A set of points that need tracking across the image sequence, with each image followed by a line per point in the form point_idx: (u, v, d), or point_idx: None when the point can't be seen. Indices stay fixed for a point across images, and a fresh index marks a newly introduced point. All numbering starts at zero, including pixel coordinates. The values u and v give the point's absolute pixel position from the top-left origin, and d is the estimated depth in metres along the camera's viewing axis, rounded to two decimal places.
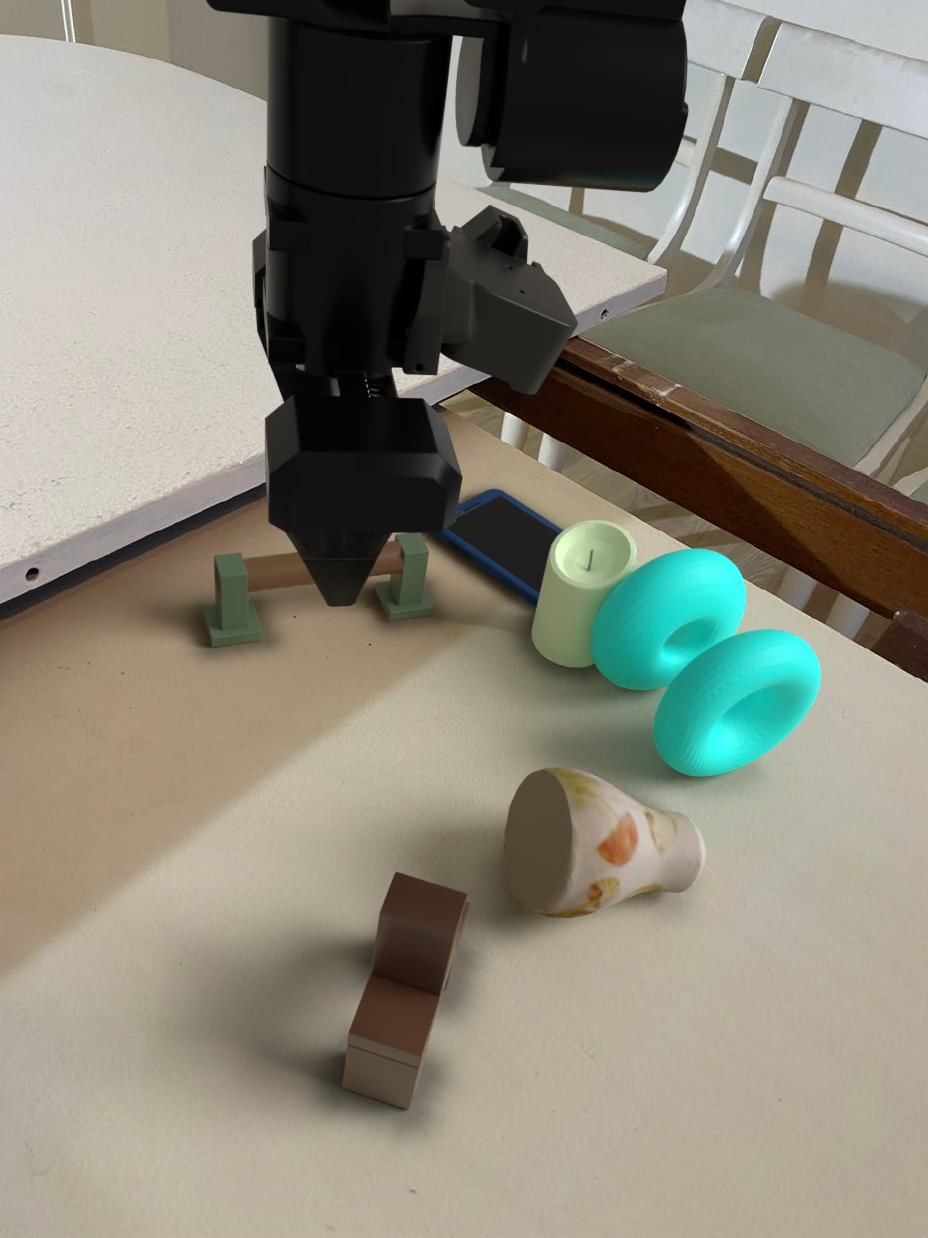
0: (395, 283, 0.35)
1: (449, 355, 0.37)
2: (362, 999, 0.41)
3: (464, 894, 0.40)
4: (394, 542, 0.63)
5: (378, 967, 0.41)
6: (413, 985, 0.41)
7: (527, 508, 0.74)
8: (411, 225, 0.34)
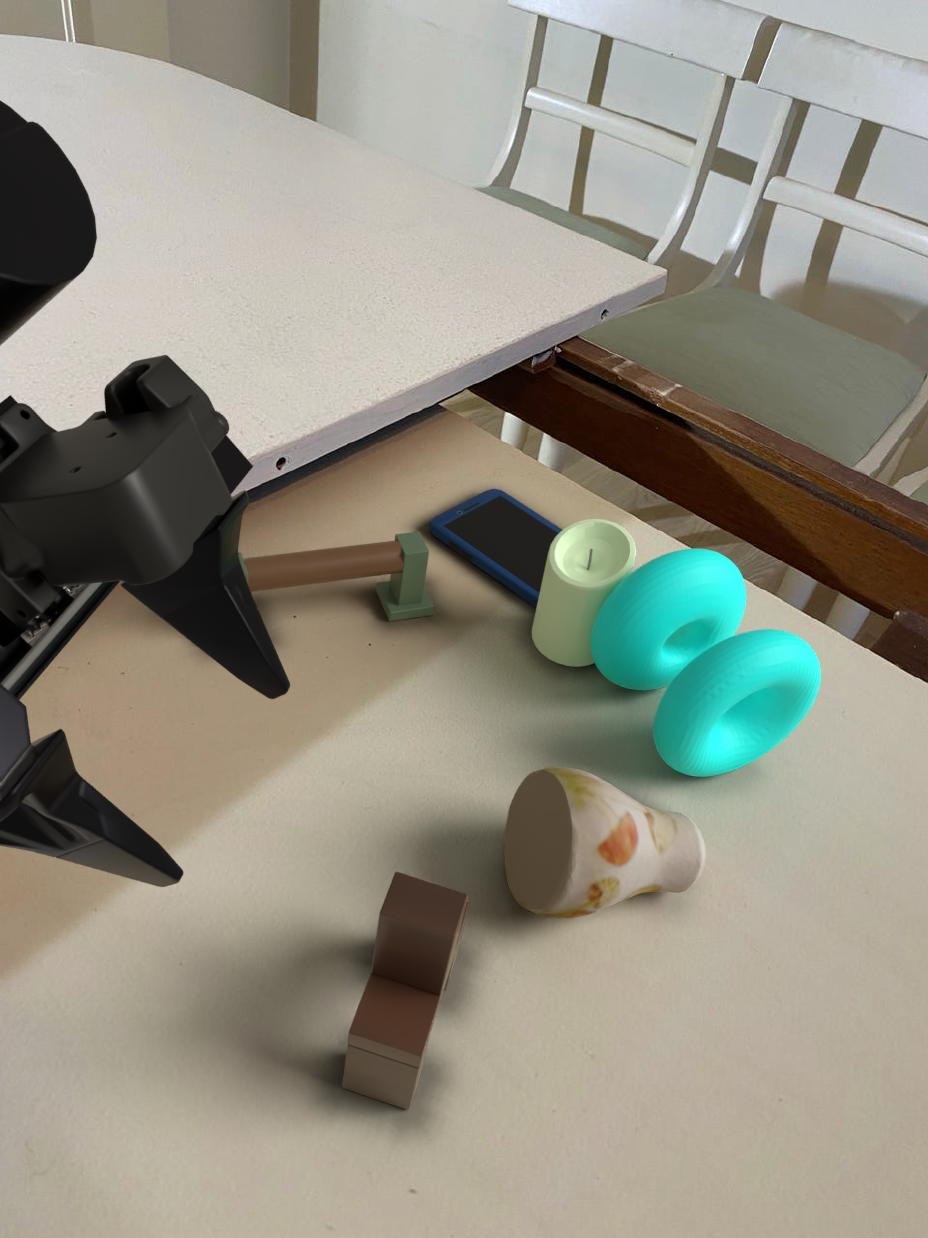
0: None
1: (49, 582, 0.30)
2: (362, 999, 0.41)
3: (464, 894, 0.40)
4: (394, 542, 0.63)
5: (378, 967, 0.41)
6: (413, 985, 0.41)
7: (527, 508, 0.74)
8: None
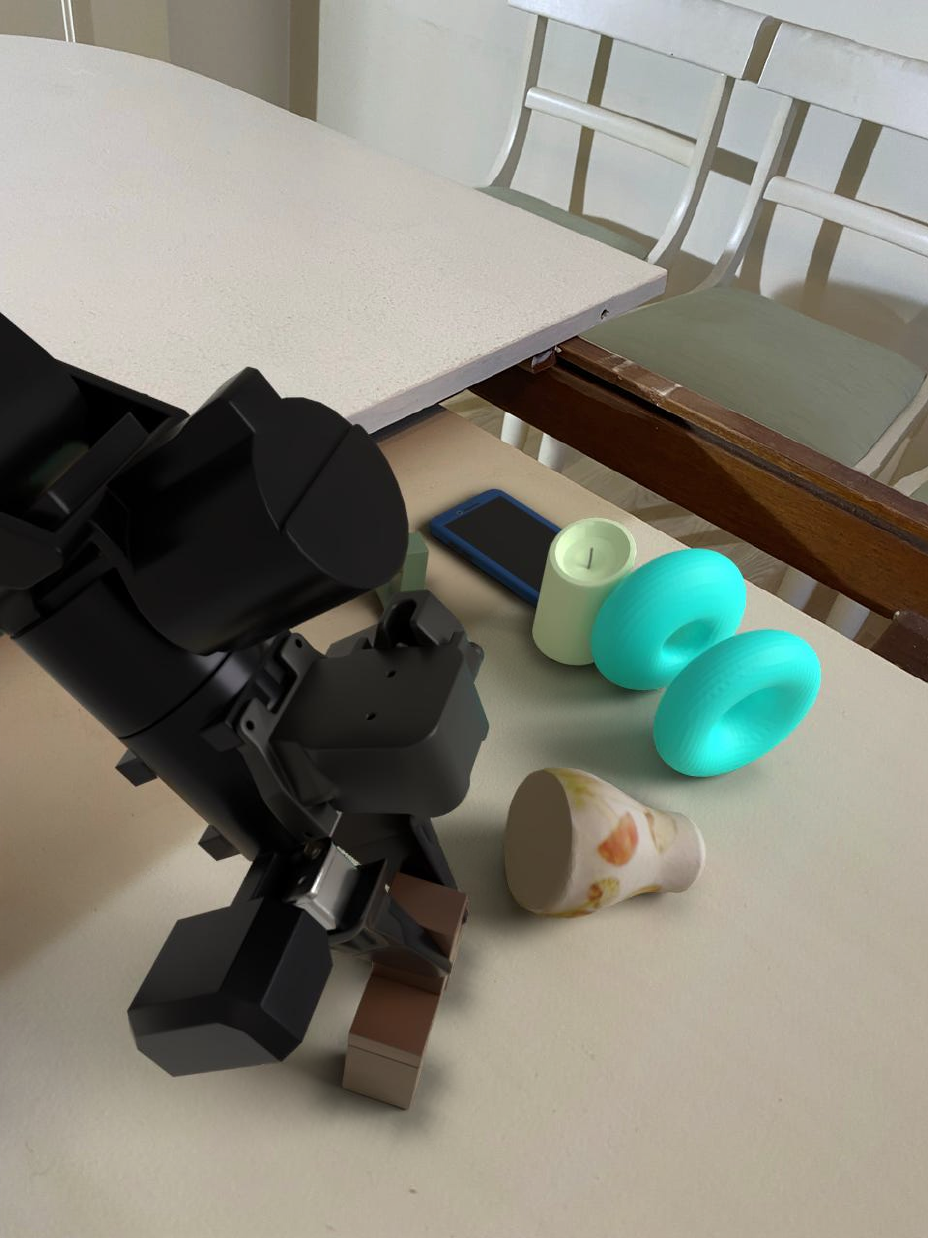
0: (231, 775, 0.33)
1: (336, 808, 0.33)
2: (362, 999, 0.41)
3: (464, 894, 0.40)
4: None
5: (378, 967, 0.41)
6: (413, 985, 0.41)
7: (527, 508, 0.74)
8: (202, 726, 0.32)
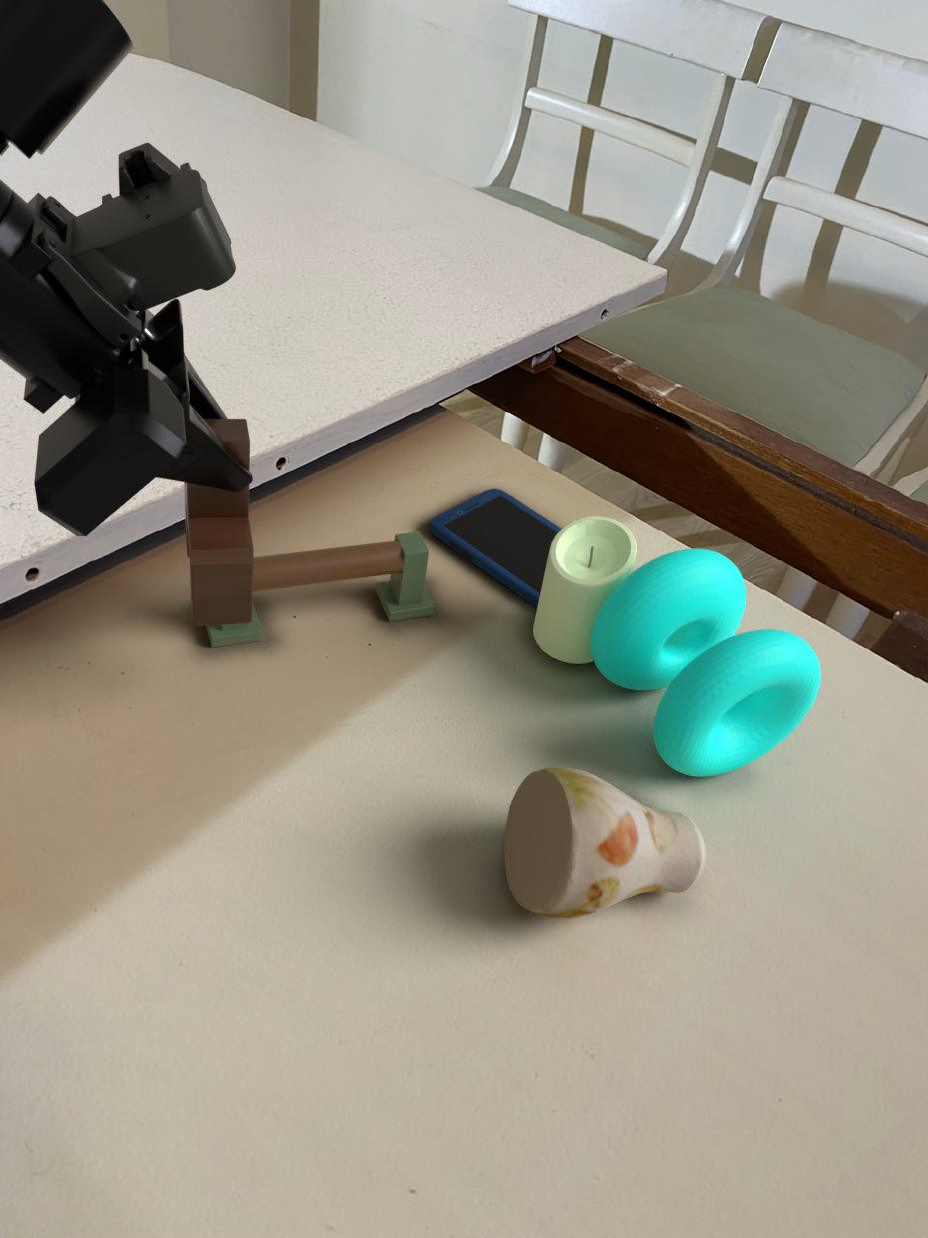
0: (46, 299, 0.41)
1: (139, 308, 0.42)
2: (190, 531, 0.51)
3: (243, 419, 0.50)
4: (394, 542, 0.63)
5: (193, 507, 0.51)
6: (225, 513, 0.52)
7: (527, 508, 0.74)
8: (12, 255, 0.40)
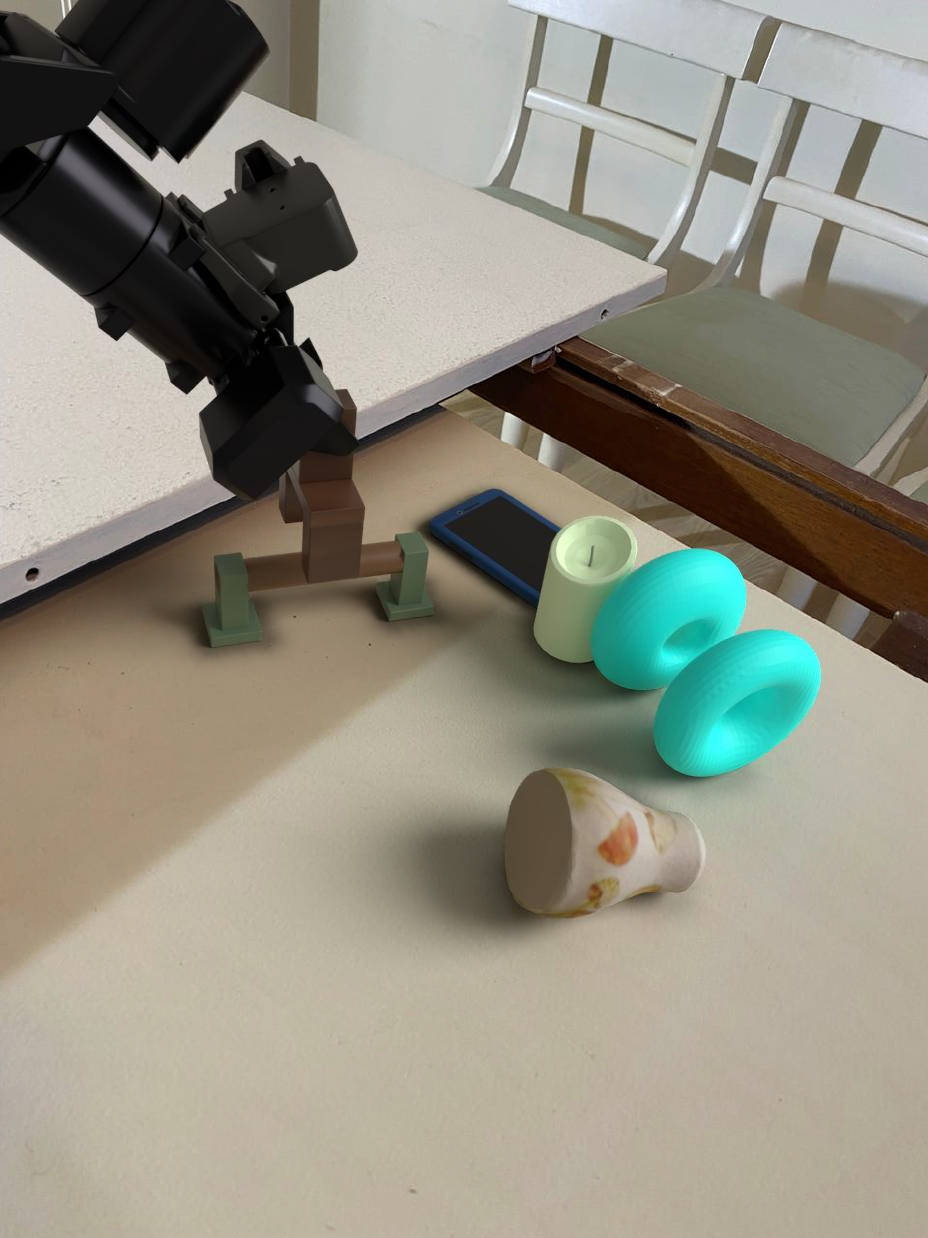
0: (198, 288, 0.45)
1: (277, 291, 0.47)
2: (305, 496, 0.55)
3: (345, 389, 0.55)
4: (394, 542, 0.63)
5: (304, 473, 0.55)
6: (331, 477, 0.56)
7: (527, 508, 0.74)
8: (170, 250, 0.44)
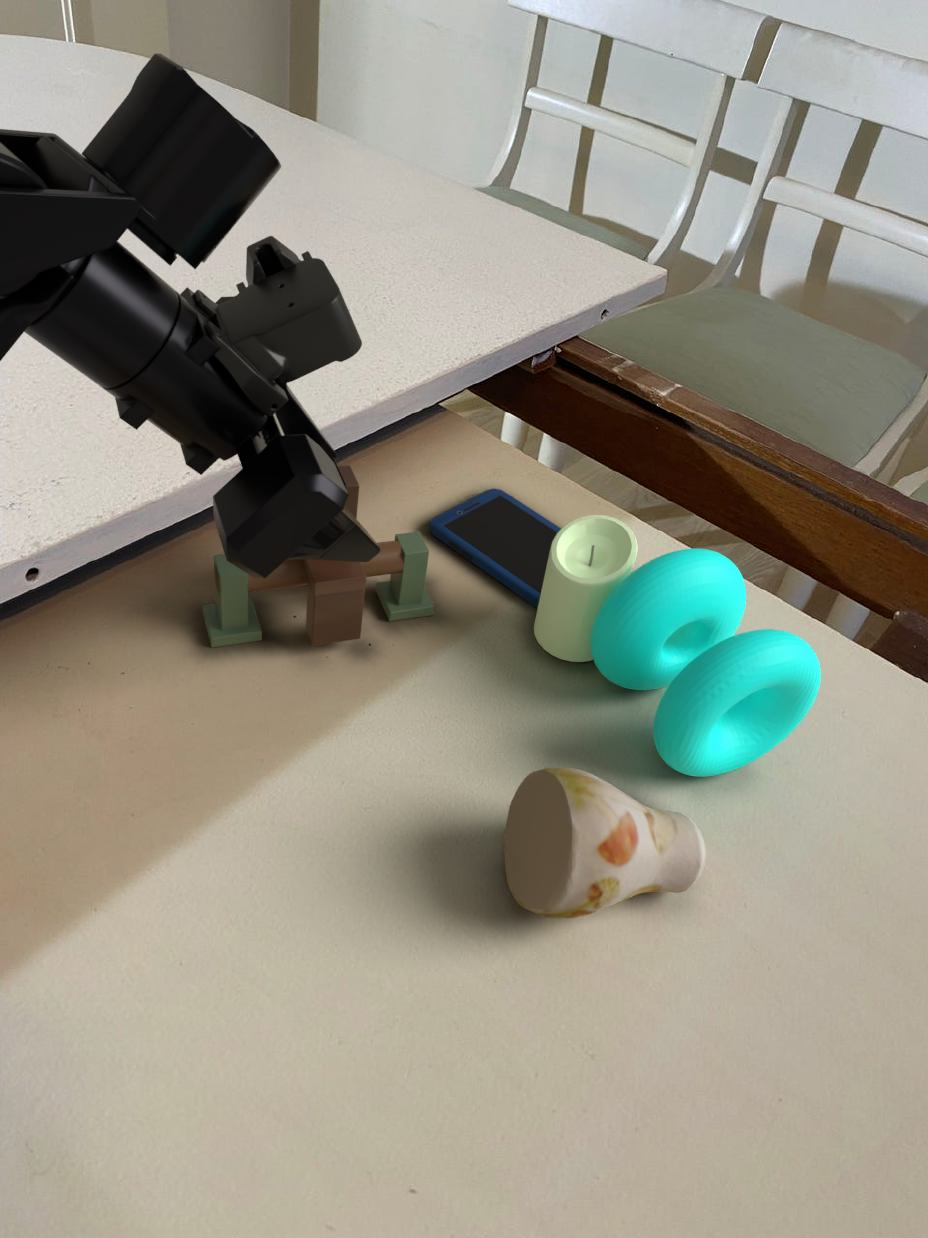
0: (212, 381, 0.48)
1: (286, 380, 0.50)
2: (310, 566, 0.58)
3: (347, 465, 0.58)
4: (394, 542, 0.63)
5: None
6: None
7: (527, 508, 0.74)
8: (186, 348, 0.47)
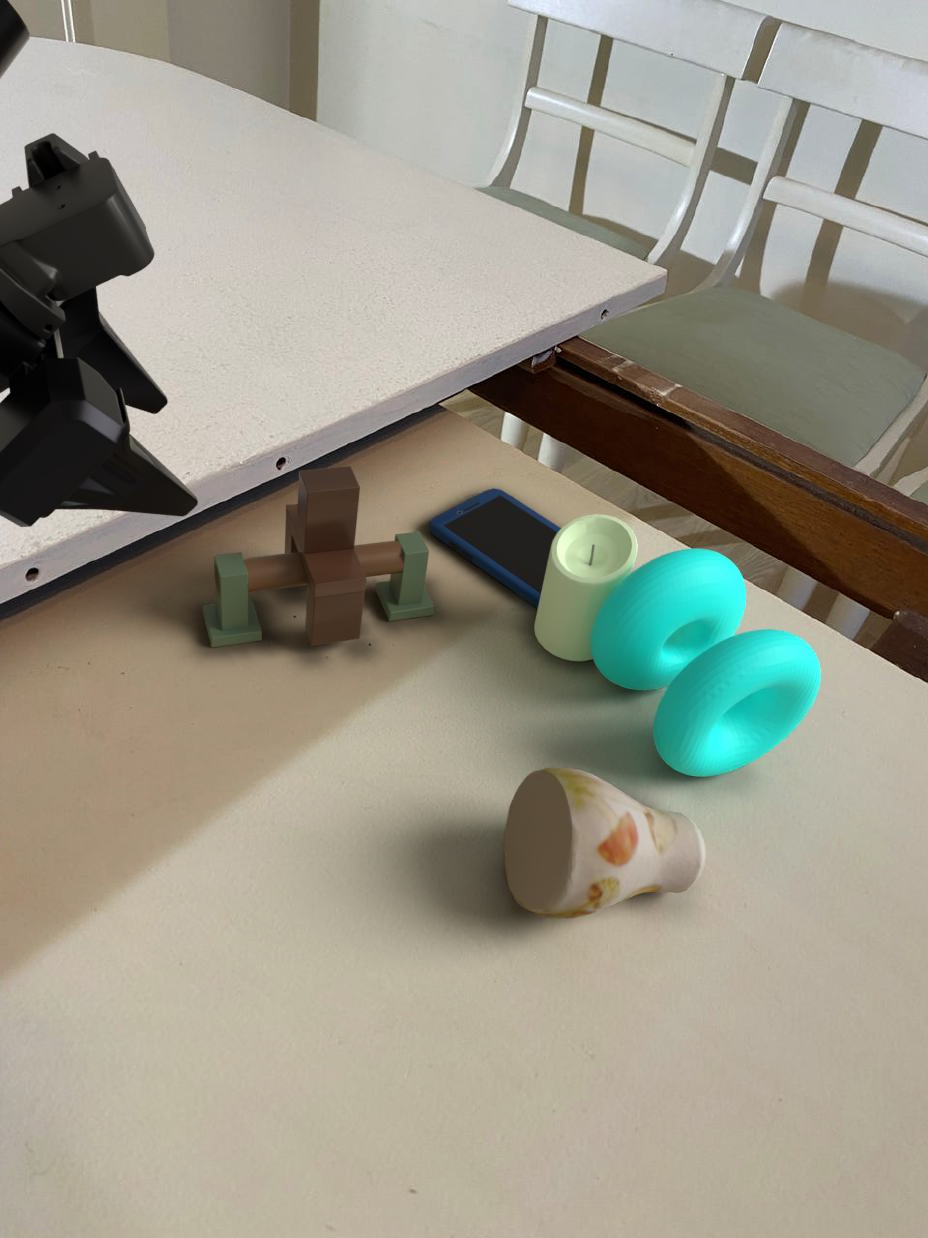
0: None
1: (62, 297, 0.43)
2: (310, 567, 0.58)
3: (348, 466, 0.58)
4: (394, 542, 0.63)
5: (309, 545, 0.59)
6: (335, 548, 0.60)
7: (527, 508, 0.74)
8: None
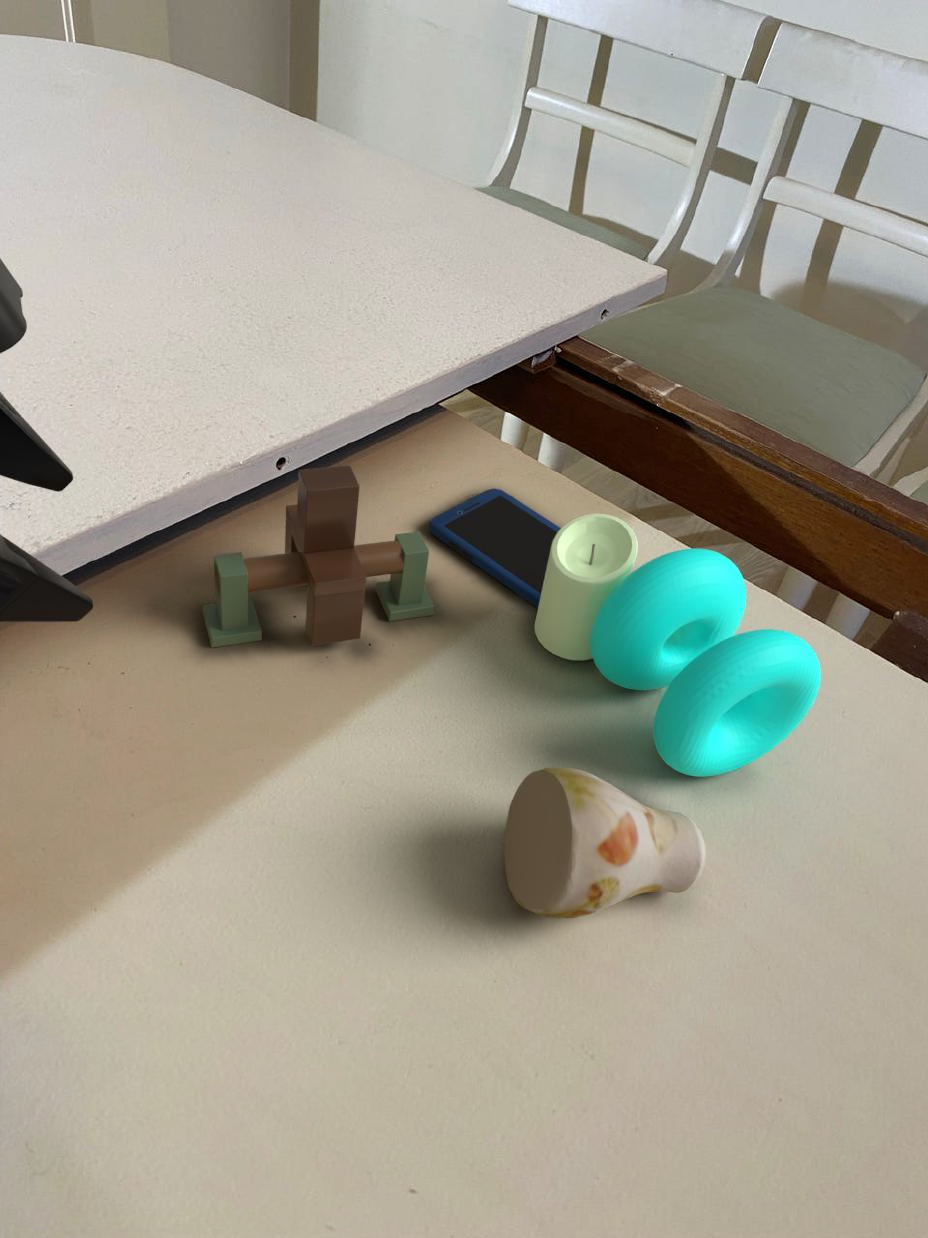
0: None
1: None
2: (310, 566, 0.58)
3: (348, 466, 0.58)
4: (394, 542, 0.63)
5: (309, 544, 0.59)
6: (335, 547, 0.60)
7: (527, 508, 0.74)
8: None
